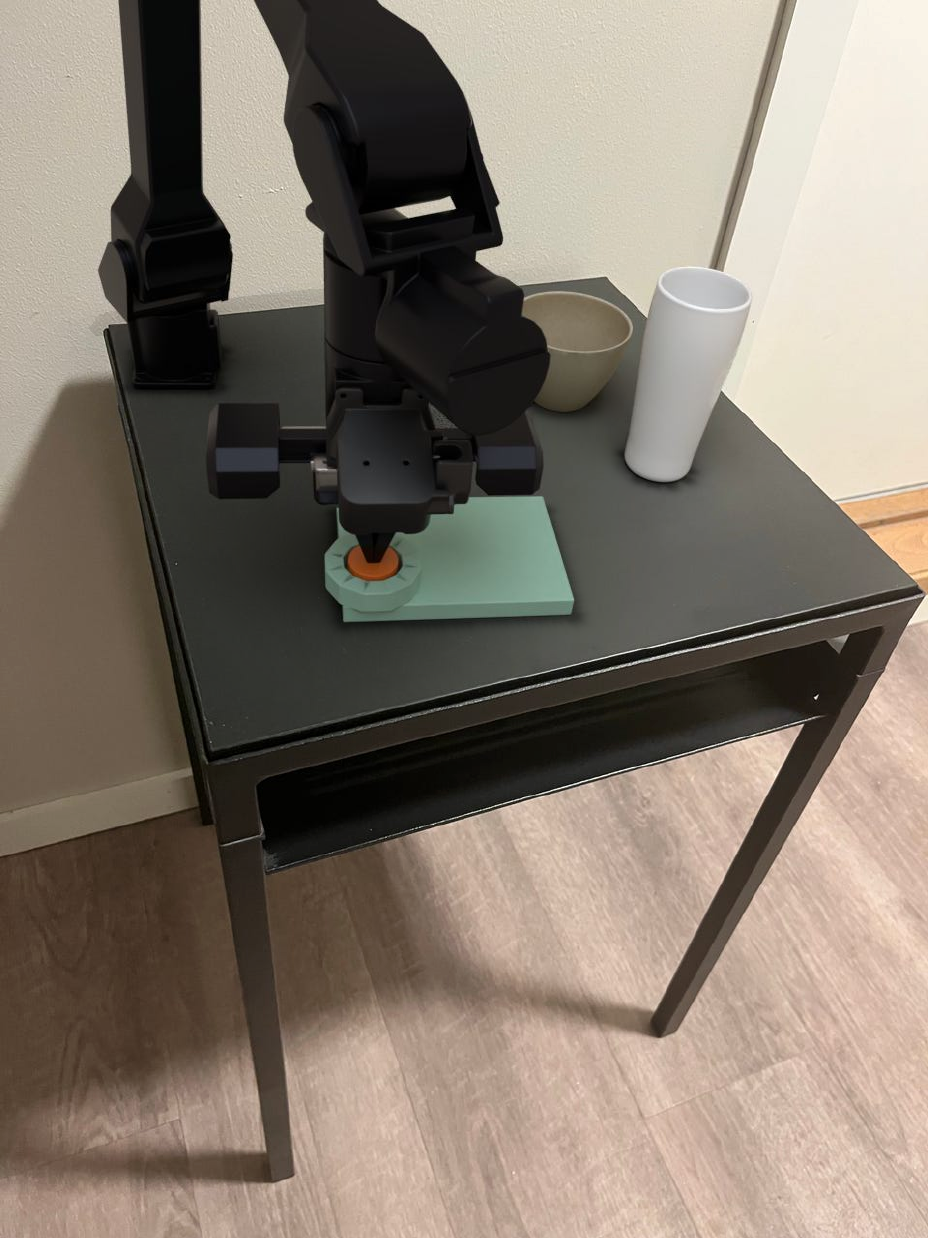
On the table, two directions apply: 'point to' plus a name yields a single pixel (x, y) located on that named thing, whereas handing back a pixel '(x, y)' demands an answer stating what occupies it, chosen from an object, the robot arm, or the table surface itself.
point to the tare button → (372, 566)
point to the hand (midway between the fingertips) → (373, 558)
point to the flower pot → (577, 345)
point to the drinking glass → (683, 367)
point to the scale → (461, 567)
